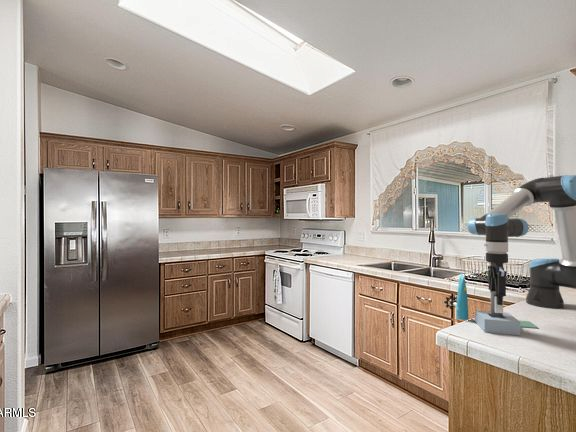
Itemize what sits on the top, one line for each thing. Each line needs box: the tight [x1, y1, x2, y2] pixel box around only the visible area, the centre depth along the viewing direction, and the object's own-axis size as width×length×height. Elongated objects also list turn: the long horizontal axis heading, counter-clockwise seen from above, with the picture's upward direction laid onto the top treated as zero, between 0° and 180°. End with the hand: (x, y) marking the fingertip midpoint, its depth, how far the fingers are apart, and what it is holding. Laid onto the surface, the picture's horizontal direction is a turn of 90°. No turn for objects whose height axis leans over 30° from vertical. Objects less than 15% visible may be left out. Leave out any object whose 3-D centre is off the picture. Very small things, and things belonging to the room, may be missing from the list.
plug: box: [490, 291, 503, 318], centre depth 129 cm, size 4×4×14 cm
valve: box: [443, 294, 457, 310], centre depth 150 cm, size 7×7×12 cm
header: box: [474, 309, 521, 336], centre depth 129 cm, size 12×12×5 cm
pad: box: [519, 320, 539, 329], centre depth 134 cm, size 8×8×1 cm
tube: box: [455, 273, 470, 321], centre depth 141 cm, size 7×5×19 cm, turn 168°
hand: (496, 310), depth 129 cm, fingers closed on plug, 4 cm apart
